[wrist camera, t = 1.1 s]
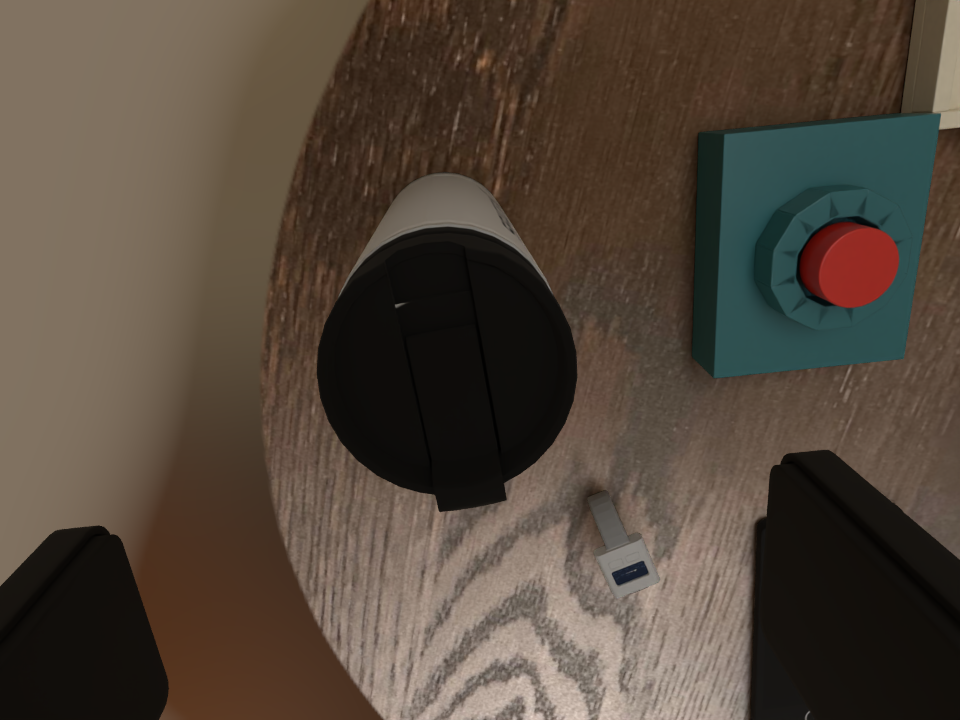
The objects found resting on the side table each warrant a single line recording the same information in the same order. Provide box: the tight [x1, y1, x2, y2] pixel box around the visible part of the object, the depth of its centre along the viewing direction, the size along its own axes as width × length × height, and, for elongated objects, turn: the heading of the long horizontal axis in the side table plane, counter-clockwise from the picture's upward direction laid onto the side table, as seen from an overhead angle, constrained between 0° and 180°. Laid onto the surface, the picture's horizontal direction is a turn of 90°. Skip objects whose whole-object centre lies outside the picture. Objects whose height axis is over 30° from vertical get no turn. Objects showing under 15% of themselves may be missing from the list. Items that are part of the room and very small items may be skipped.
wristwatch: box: [587, 490, 660, 598], centre depth 38 cm, size 6×3×5 cm, turn 24°
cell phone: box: [751, 503, 902, 720], centre depth 43 cm, size 9×18×1 cm, turn 7°
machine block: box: [692, 113, 941, 378], centre depth 32 cm, size 12×10×5 cm
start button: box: [799, 222, 899, 308], centre depth 29 cm, size 4×4×2 cm
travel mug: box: [317, 172, 577, 512], centre depth 24 cm, size 6×7×20 cm
